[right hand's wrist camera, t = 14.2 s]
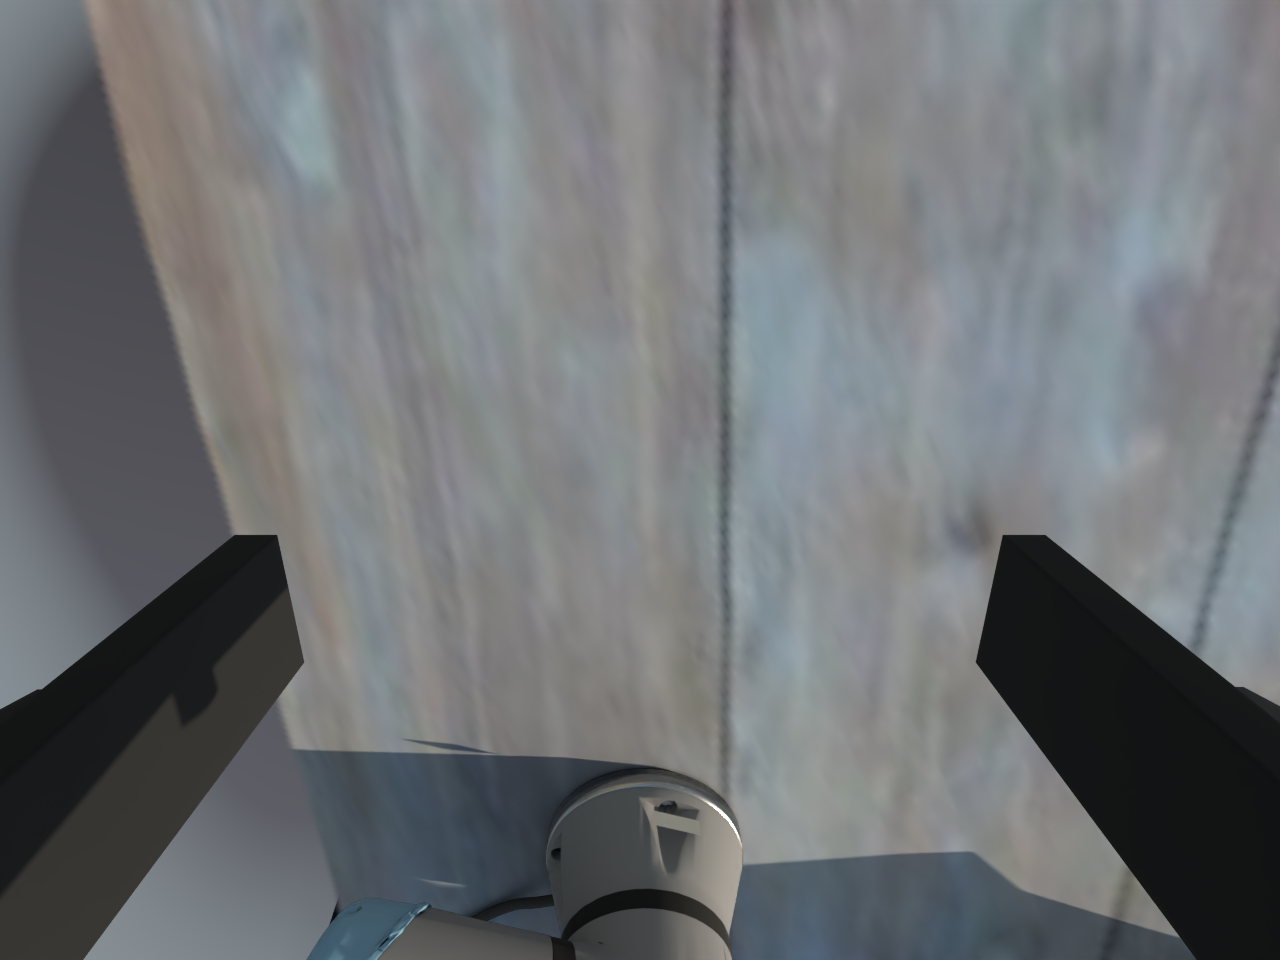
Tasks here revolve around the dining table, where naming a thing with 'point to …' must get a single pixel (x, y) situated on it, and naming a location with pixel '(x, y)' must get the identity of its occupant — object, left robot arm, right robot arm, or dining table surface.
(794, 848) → the dining table surface
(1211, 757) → the right robot arm
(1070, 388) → the dining table surface
